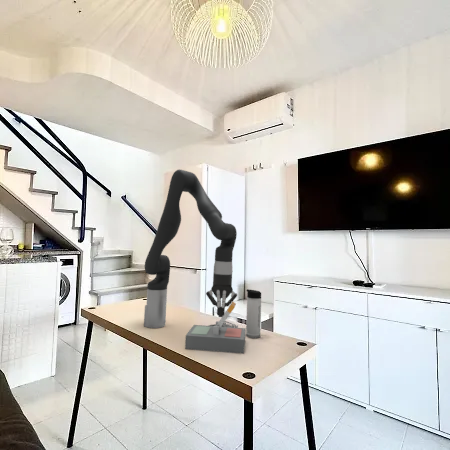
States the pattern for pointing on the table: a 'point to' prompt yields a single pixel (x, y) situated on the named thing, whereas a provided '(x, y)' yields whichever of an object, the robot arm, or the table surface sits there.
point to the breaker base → (216, 338)
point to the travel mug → (253, 314)
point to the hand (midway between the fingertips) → (220, 316)
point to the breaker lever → (226, 314)
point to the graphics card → (226, 325)
